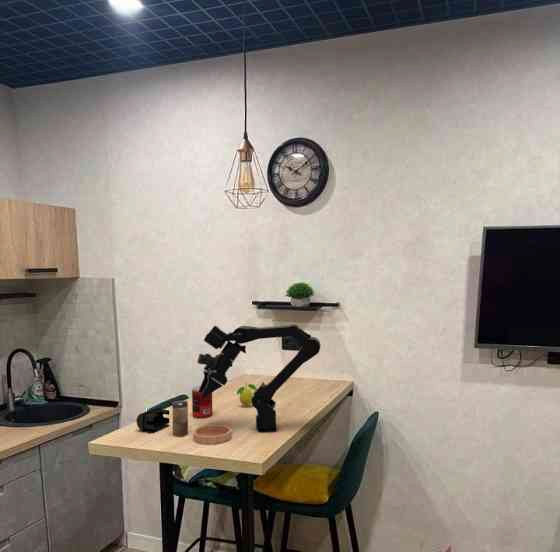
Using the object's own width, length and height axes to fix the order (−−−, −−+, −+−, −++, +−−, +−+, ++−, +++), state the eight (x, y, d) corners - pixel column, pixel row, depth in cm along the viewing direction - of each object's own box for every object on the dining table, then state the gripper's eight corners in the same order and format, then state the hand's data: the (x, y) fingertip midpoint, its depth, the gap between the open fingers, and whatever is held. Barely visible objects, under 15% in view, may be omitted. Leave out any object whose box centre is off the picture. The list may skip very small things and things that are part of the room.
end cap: (155, 423, 177) (154, 405, 177) (170, 426, 174) (170, 407, 174) (136, 431, 168) (135, 412, 168) (151, 434, 165) (151, 414, 165)
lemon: (257, 405, 200) (256, 381, 200) (250, 409, 195) (250, 384, 195) (243, 403, 203) (242, 380, 203) (236, 407, 197) (235, 383, 197)
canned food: (215, 413, 190) (214, 385, 190) (208, 419, 182) (208, 390, 182) (196, 412, 191) (196, 384, 191) (189, 418, 183) (189, 389, 183)
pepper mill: (188, 431, 168) (188, 400, 168) (187, 436, 162) (187, 404, 162) (173, 432, 167) (173, 400, 167) (172, 437, 162) (171, 404, 162)
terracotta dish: (230, 431, 167) (230, 423, 167) (232, 443, 155) (232, 435, 155) (194, 433, 166) (194, 425, 166) (192, 445, 153) (192, 438, 153)
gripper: (205, 342, 177) (180, 377, 174) (211, 346, 159) (183, 386, 156) (229, 359, 179) (205, 394, 176) (238, 365, 161) (211, 404, 158)
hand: (201, 394), depth 166 cm, fingers open, 9 cm apart
